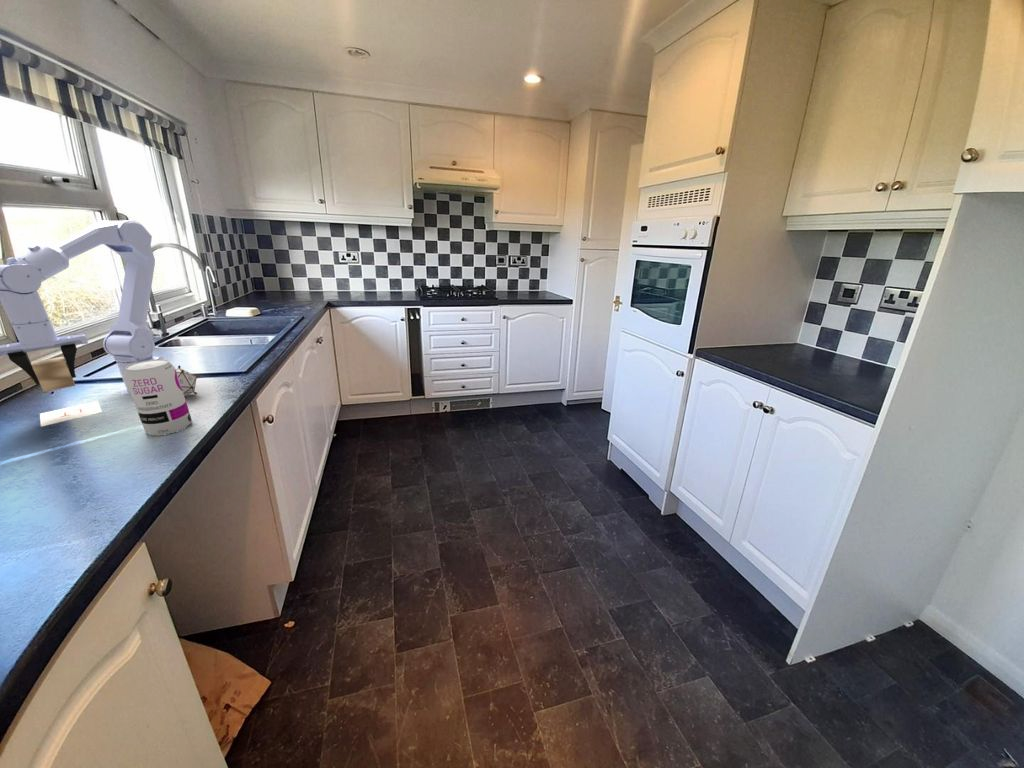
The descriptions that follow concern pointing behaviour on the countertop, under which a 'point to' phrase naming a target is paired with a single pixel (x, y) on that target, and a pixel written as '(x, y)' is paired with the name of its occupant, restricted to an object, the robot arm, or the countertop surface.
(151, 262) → the robot arm
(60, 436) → the countertop surface
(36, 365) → the oak cube
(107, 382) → the countertop surface
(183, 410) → the supplement can
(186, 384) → the game die
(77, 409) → the tile
